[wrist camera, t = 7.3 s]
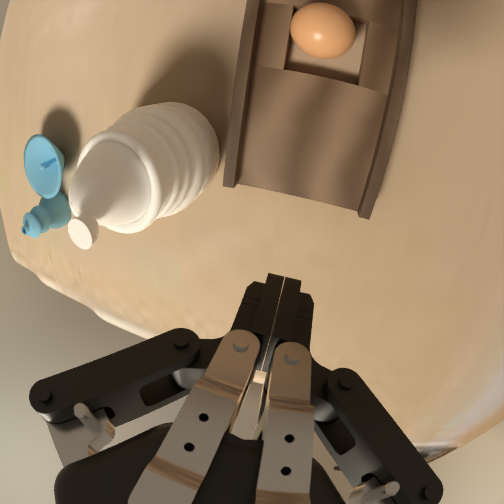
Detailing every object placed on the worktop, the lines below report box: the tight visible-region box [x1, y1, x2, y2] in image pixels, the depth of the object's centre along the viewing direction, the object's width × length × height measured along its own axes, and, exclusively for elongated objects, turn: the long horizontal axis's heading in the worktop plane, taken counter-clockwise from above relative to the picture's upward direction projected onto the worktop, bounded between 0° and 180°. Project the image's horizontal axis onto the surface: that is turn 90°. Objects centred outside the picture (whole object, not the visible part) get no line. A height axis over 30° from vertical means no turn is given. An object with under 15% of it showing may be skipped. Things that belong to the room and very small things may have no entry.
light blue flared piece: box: [21, 134, 71, 238], centre depth 34 cm, size 18×10×9 cm, turn 159°
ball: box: [290, 3, 355, 59], centre depth 19 cm, size 6×6×6 cm
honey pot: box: [68, 102, 220, 249], centre depth 25 cm, size 13×13×18 cm
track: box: [223, 0, 417, 219], centre depth 23 cm, size 16×28×3 cm, turn 173°
